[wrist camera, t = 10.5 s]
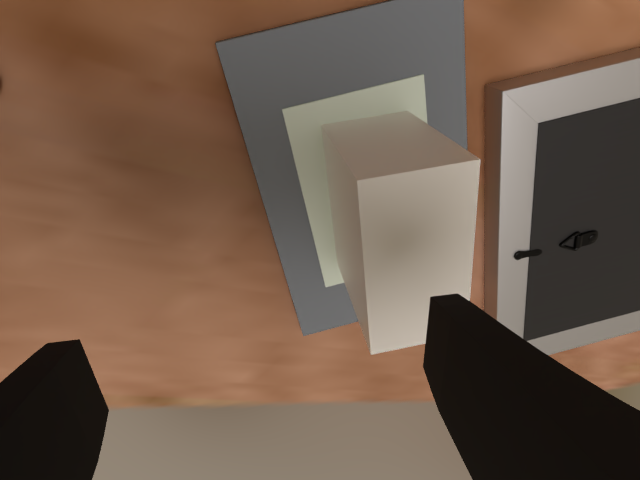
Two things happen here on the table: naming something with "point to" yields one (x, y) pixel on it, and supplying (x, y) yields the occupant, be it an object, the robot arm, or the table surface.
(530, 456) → the robot arm
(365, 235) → the beige rectangular block
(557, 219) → the picture frame
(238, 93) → the mat
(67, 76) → the table surface
